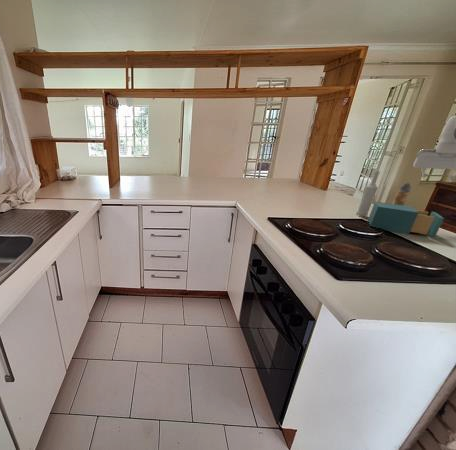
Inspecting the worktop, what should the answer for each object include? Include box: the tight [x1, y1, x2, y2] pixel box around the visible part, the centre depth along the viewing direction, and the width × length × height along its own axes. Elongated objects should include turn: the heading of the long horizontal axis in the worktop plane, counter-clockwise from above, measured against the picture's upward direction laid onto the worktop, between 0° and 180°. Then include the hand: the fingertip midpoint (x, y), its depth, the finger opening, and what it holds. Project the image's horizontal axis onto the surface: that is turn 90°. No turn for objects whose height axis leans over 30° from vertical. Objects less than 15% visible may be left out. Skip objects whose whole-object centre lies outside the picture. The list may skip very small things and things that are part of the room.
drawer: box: [409, 209, 445, 238], centre depth 110 cm, size 14×12×9 cm
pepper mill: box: [391, 182, 412, 206], centre depth 124 cm, size 5×5×21 cm
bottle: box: [355, 170, 381, 217], centre depth 130 cm, size 5×5×25 cm
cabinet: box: [367, 201, 418, 235], centre depth 115 cm, size 14×14×11 cm
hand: (437, 178), depth 119 cm, fingers open, 8 cm apart
